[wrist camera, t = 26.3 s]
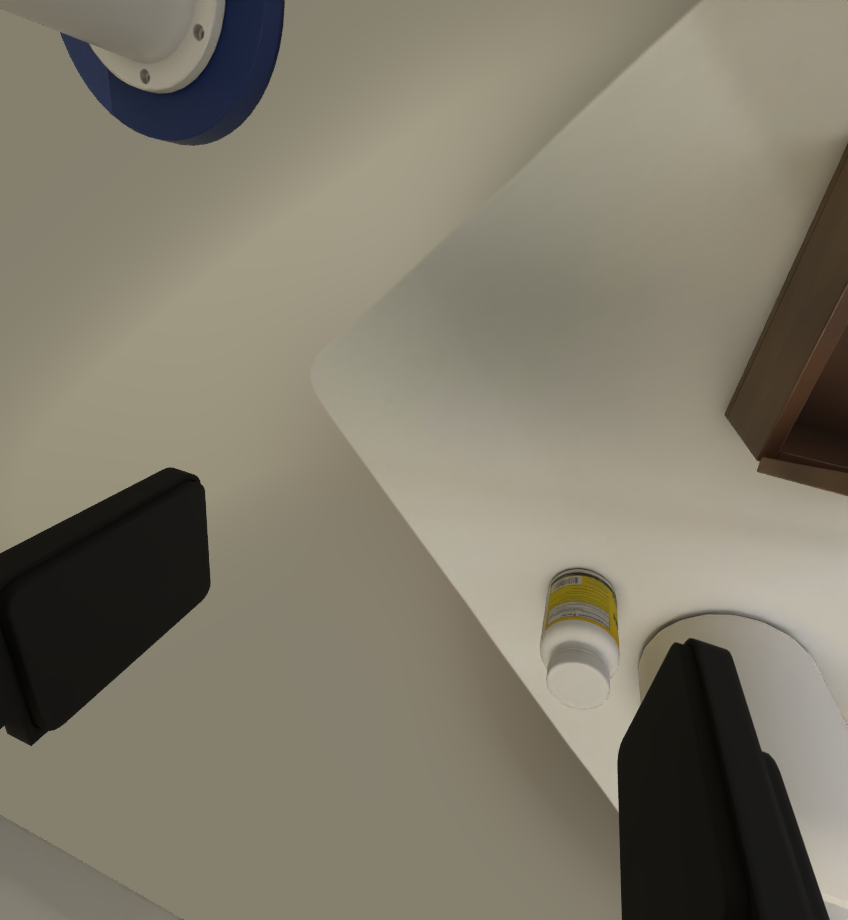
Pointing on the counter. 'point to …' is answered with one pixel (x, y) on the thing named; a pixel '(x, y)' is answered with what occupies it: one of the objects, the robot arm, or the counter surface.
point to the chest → (804, 352)
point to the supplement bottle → (580, 638)
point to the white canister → (784, 732)
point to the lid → (806, 475)
